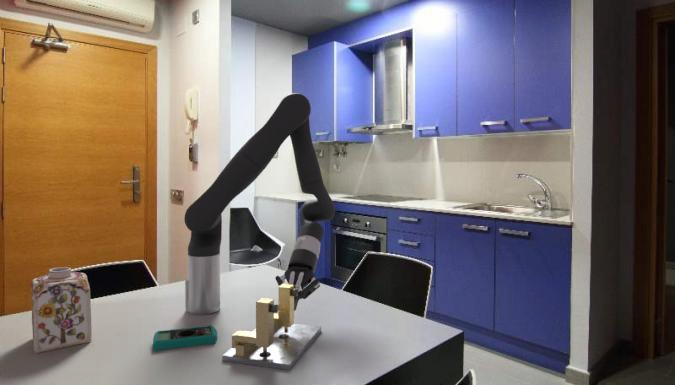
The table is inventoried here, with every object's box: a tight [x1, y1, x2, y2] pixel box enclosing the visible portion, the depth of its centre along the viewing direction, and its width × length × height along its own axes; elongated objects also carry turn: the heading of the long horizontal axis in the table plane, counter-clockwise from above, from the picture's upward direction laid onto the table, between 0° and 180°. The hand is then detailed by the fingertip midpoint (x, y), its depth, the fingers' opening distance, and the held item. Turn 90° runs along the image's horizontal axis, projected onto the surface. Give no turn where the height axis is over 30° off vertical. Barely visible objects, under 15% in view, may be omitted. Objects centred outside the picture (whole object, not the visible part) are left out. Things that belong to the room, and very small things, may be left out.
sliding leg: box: [274, 283, 298, 333], centre depth 108 cm, size 10×3×12 cm, turn 75°
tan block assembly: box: [231, 297, 279, 357], centre depth 104 cm, size 10×22×12 cm, turn 165°
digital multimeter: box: [152, 325, 218, 352], centre depth 105 cm, size 7×15×3 cm, turn 110°
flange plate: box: [221, 323, 322, 371], centre depth 104 cm, size 16×23×1 cm
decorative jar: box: [30, 266, 93, 354], centre depth 105 cm, size 12×12×18 cm
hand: (289, 311), depth 109 cm, fingers closed
